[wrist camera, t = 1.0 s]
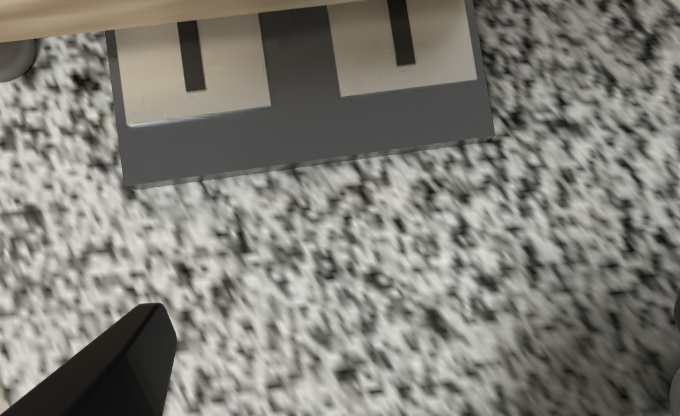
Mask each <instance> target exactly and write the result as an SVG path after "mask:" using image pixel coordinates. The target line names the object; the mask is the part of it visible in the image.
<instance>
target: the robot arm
mask: <svg viewBox="0 0 680 416" xmlns="http://www.w3.org/2000/svg"><path fill="white" fill-rule="evenodd" d="M674 319H675V322H676V325H677V327H678V330H679V332H680V290H679V293H678V297H677V300H676V303H675V306H674ZM176 347H177V337H176V333H175V330H174V328H173V325H172V323H171V320H170V318H169V315H168V313H167V310H166V308H165V306H164V305H163V304H161V303H145V304H140V305H138V306H136V307H135V308H133V309H132V310H131V311H130V312H128V313H127V314H126V315H125V316H123V317H122V318H121V319H120V320H118V321H117V322H116V323H115V324H113V325H112V326H111V327H110V328H108V329H107V330H106V331H105V332H103V333H102V334H101V335H100V336H98V337H97V338H96V339H95V340H93V341H92V342H91V343H90V344H88V345H87V346H86V347H85V348H83V349H82V350H81V351H80V352H78V353H77V354H76V355H75V356H73V357H72V358H71V359H70V360H68V361H67V362H66V363H65V364H63V365H62V366H61V367H60V368H58V369H57V370H56V371H55V372H53V373H52V374H51V375H50V376H48V377H47V378H46V379H44V380H43V381H42V382H41V383H39V384H38V385H37V386H36V387H34V388H33V389H32V390H31V391H29V392H28V393H27V394H26V395H24V396H23V397H22V398H21V399H19V400H18V401H17V402H16V403H14V404H13V405H12V406H11V407H9V408H8V409H7V410H6V411H4V412H3V413H2V414H1V415H0V416H162V415H163V410H164V406H165V401H166V396H167V391H168V386H169V381H170V377H171V372H172V367H173V362H174V357H175V352H176Z"/></svg>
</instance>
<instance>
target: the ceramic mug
mask: <svg viewBox="0 0 680 416" xmlns="http://www.w3.org/2000/svg"><path fill="white" fill-rule="evenodd" d="M669 404H670V409H671V413H672V416H680V368H679V369H678V371H677V372H676V374H675V376H674V378H673V380H672V384H671V388H670V395H669Z"/></svg>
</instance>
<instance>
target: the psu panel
mask: <svg viewBox="0 0 680 416" xmlns="http://www.w3.org/2000/svg"><path fill="white" fill-rule="evenodd" d="M105 36H106V44H107V52H108V60H109V68H110V76H111V84H112V92H113V100H114V108H115V116H116V124H117V132H118V140H119V148H120V156H121V164H122V172H123V180H124V186H125V187H129V188H132V189H135V190H138V189H146V188H153V187H160V186H168V185H175V184H182V183H189V182H197V181H204V180H211V179H219V178H226V177H233V176H240V175H248V174H255V173H262V172H269V171H277V170H284V169H291V168H299V167H306V166H313V165H320V164H328V163H335V162H342V161H349V160H357V159H364V158H371V157H379V156H386V155H393V154H400V153H408V152H415V151H422V150H430V149H437V148H444V147H451V146H459V145H466V144H473V143H480V142H485V141H486V140H488V139H490V138H492V137H493V136H495V131H494V125H493V119H492V113H491V107H490V101H489V95H488V89H487V83H486V77H485V71H484V65H483V59H482V53H481V47H480V41H479V35H478V29H477V23H476V17H475V11H474V5H473V0H365V1H357V2H348V3H339V4H331V5H322V6H313V7H305V8H296V9H287V10H279V11H270V12H261V13H252V14H244V15H235V16H226V17H218V18H209V19H200V20H192V21H183V22H174V23H166V24H157V25H148V26H140V27H131V28H122V29H113V30H105Z"/></svg>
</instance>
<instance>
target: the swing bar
mask: <svg viewBox="0 0 680 416" xmlns="http://www.w3.org/2000/svg"><path fill="white" fill-rule="evenodd" d="M357 1H365V0H0V82H8V81H11V80H14V79H16V78H18V77H20V76H21V75H22V74H24V73H25V72H26V71H27V70H28V68H29V67H30V66H31V64H32V62H33V59H34V56H35V41H34V39H35V38H44V37H53V36H61V35H70V34H79V33H87V32H96V31H105V30H113V29H122V28H131V27H140V26H148V25H157V24H166V23H174V22H183V21H192V20H200V19H209V18H218V17H226V16H235V15H244V14H252V13H261V12H270V11H279V10H287V9H296V8H305V7H313V6H322V5H331V4H339V3H348V2H357Z"/></svg>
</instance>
